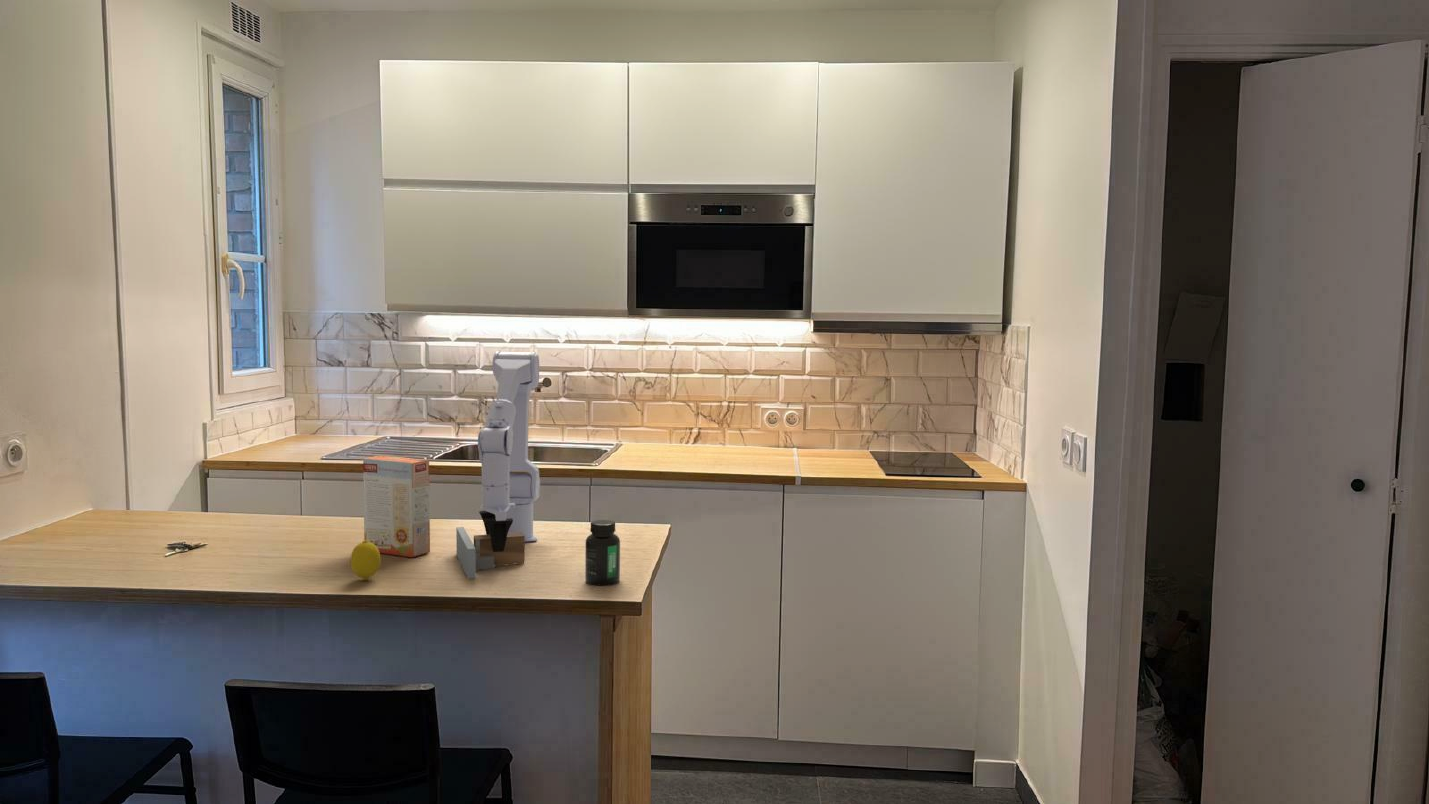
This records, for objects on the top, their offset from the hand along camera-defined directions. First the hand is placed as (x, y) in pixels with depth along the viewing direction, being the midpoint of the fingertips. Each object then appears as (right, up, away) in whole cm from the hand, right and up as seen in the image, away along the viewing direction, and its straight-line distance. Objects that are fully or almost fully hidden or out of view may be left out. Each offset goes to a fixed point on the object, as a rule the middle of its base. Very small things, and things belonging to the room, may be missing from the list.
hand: (495, 547), depth 199 cm
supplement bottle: (+24, -5, -12) cm, 27 cm away
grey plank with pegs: (-3, -3, -1) cm, 5 cm away
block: (+1, -4, +1) cm, 4 cm away
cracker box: (-24, -2, +8) cm, 25 cm away
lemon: (-22, -5, -14) cm, 27 cm away
